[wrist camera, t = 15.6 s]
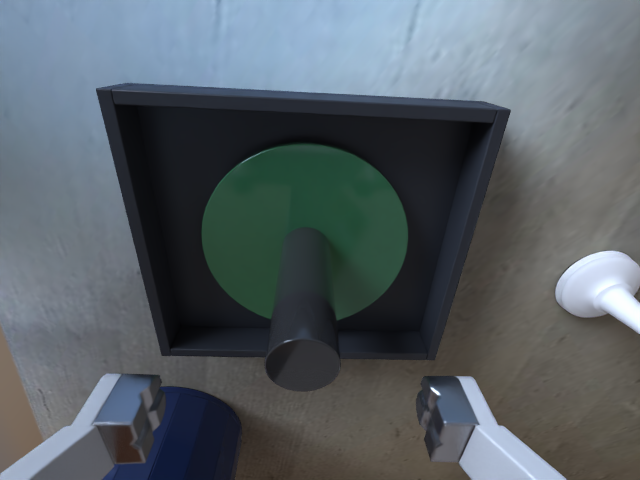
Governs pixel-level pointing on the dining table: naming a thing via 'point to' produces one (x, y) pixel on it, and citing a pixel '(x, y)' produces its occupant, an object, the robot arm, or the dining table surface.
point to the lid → (304, 249)
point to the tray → (281, 128)
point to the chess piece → (602, 288)
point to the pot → (189, 441)
